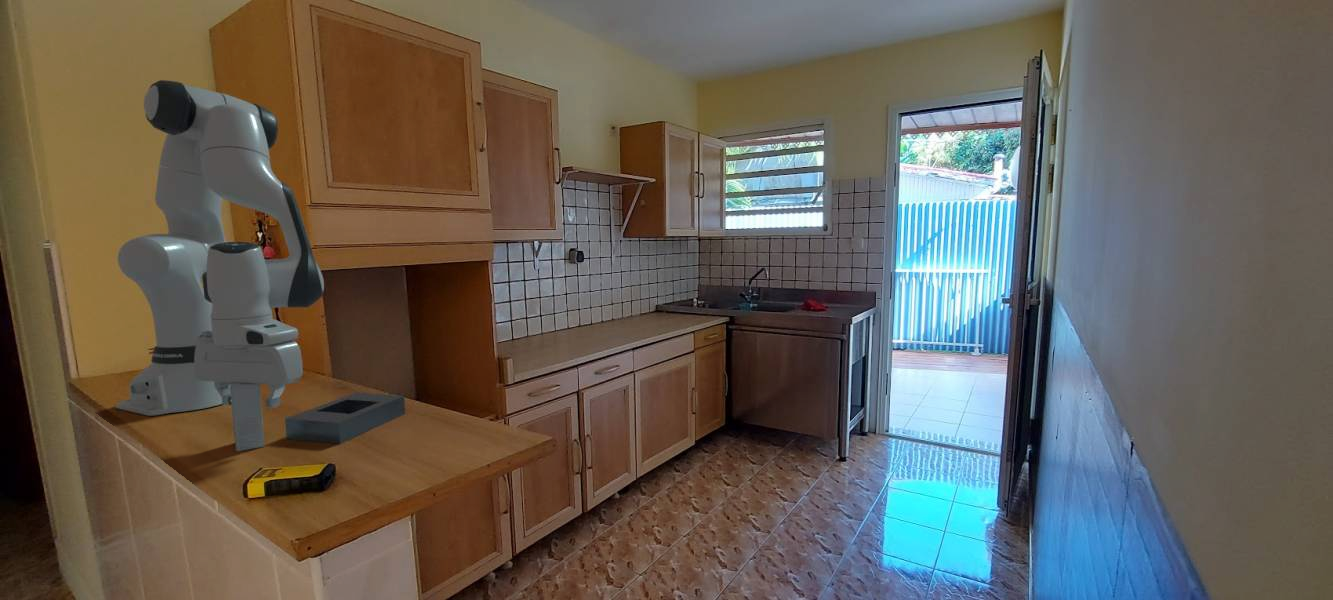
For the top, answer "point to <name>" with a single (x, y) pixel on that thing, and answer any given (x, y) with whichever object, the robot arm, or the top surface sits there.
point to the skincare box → (247, 415)
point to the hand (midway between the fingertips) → (251, 405)
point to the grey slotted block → (344, 417)
